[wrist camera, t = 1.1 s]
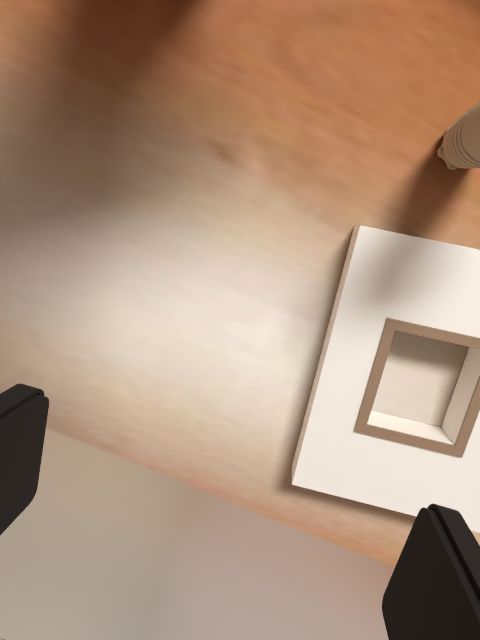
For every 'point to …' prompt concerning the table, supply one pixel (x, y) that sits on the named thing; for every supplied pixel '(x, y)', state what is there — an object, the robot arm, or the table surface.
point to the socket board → (366, 370)
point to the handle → (462, 141)
